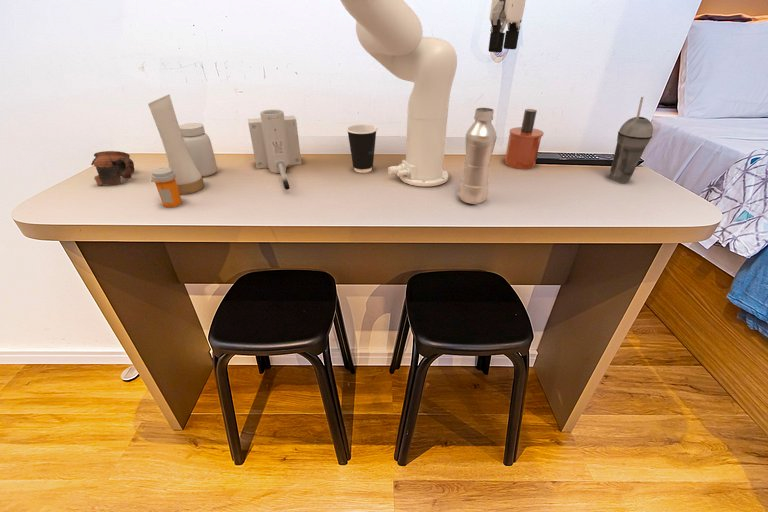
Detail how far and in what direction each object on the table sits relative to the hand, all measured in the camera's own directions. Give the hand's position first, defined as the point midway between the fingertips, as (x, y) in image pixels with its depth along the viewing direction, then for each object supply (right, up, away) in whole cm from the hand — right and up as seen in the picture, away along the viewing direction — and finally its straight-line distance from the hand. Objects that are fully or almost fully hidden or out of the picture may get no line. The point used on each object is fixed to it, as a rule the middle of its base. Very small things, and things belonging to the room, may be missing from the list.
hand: (502, 50), depth 94 cm
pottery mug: (-96, -31, +4) cm, 101 cm away
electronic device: (-55, -30, +6) cm, 63 cm away
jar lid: (+9, -17, +10) cm, 22 cm away
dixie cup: (-35, -27, +10) cm, 45 cm away
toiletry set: (-77, -33, 0) cm, 84 cm away
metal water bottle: (-9, -38, -6) cm, 40 cm away
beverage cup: (+31, -31, +5) cm, 44 cm away
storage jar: (+9, -24, +14) cm, 30 cm away
